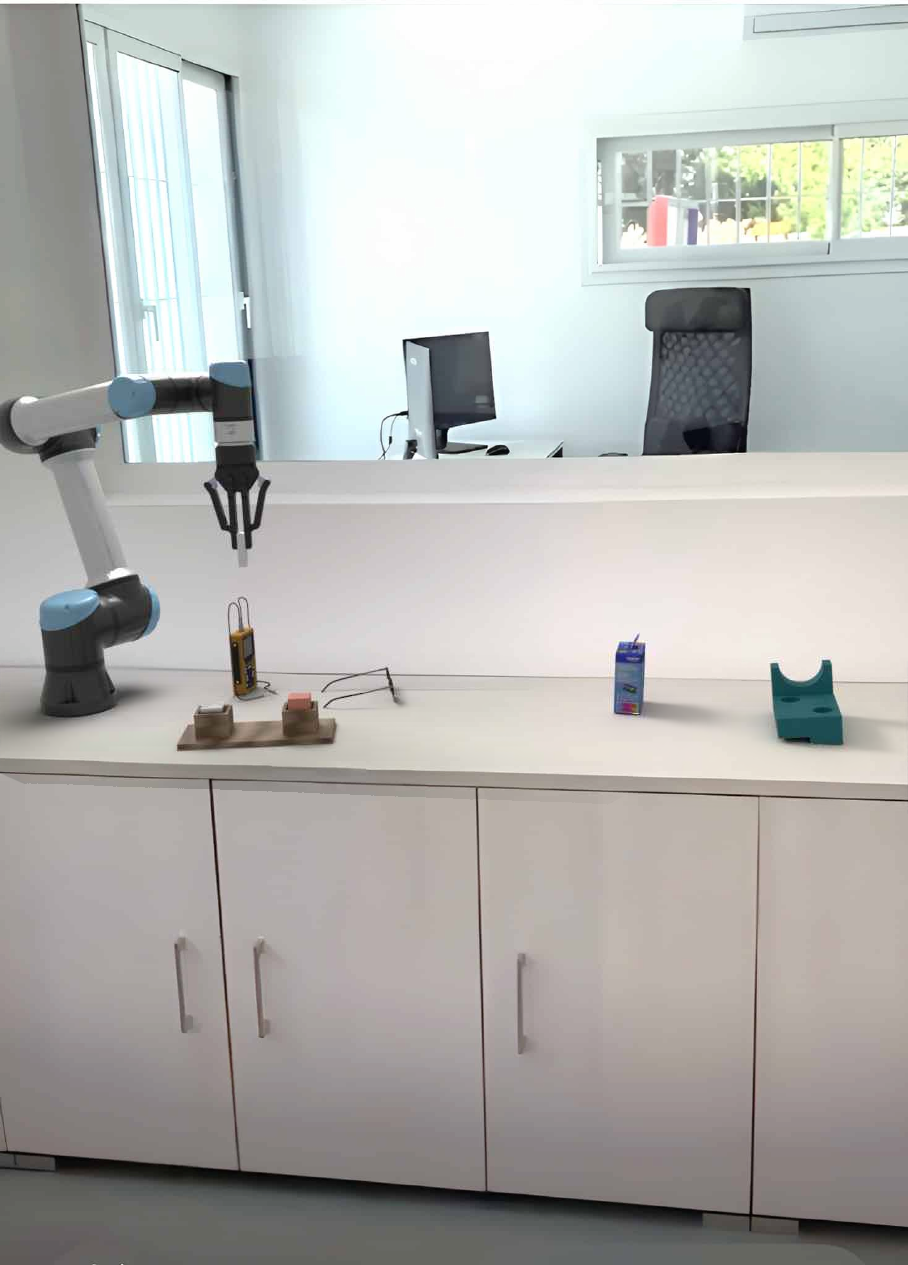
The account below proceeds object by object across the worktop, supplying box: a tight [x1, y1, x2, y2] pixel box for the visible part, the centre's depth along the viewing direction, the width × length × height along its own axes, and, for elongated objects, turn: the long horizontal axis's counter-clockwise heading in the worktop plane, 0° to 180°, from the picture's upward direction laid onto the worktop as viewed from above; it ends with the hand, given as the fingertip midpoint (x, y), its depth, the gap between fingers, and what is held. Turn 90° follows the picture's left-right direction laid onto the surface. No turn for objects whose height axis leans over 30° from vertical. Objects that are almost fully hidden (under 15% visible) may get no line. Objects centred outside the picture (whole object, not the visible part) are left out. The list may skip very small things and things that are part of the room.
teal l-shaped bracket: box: [769, 659, 844, 745], centre depth 210 cm, size 18×11×10 cm, turn 168°
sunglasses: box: [320, 666, 395, 709], centre depth 239 cm, size 14×15×5 cm
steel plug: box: [200, 701, 226, 714], centre depth 215 cm, size 4×4×5 cm
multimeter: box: [227, 596, 280, 701], centre depth 244 cm, size 15×10×20 cm
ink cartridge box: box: [613, 633, 646, 714], centre depth 225 cm, size 10×6×14 cm, turn 167°
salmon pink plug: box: [287, 691, 312, 710], centre depth 215 cm, size 4×4×5 cm
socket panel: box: [176, 699, 336, 751], centre depth 216 cm, size 28×12×6 cm, turn 93°
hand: (243, 565), depth 226 cm, fingers closed
